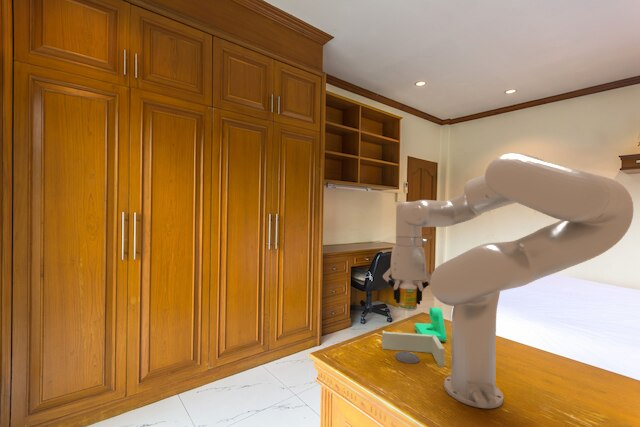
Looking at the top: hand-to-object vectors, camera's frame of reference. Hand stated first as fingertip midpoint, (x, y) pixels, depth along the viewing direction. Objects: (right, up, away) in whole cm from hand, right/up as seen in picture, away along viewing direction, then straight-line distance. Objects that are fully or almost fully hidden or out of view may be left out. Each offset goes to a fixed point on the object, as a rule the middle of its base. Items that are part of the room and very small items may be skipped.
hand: (407, 302), depth 90 cm
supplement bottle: (0, -2, 0) cm, 2 cm away
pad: (0, -17, 0) cm, 17 cm away
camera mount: (+13, -18, +17) cm, 28 cm away
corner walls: (+1, -17, +1) cm, 17 cm away
